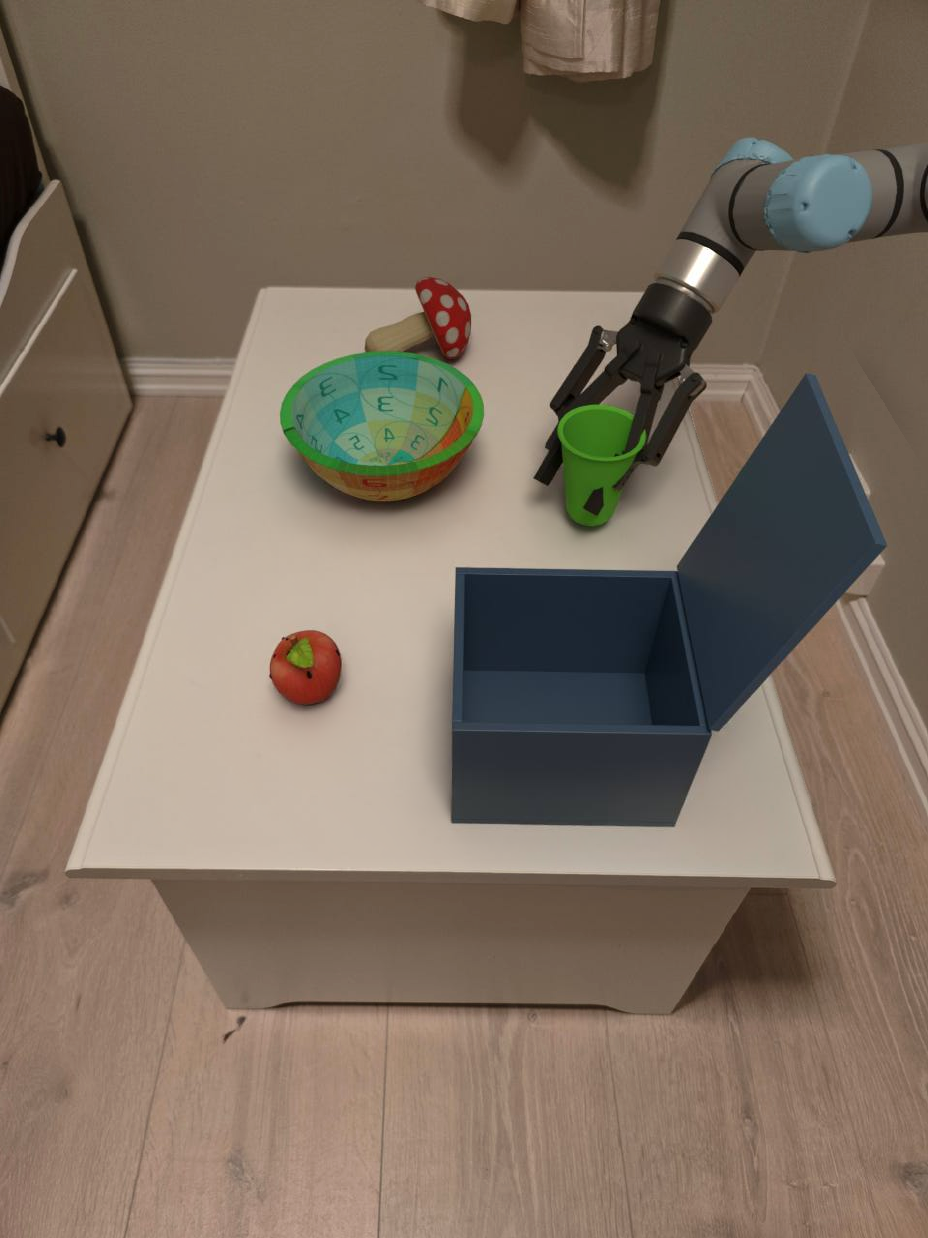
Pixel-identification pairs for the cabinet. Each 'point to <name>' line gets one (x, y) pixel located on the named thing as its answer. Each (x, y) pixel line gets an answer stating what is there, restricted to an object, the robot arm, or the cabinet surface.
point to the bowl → (382, 422)
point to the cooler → (573, 698)
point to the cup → (595, 457)
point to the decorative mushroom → (428, 322)
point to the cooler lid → (775, 552)
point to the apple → (306, 667)
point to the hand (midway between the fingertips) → (565, 496)
